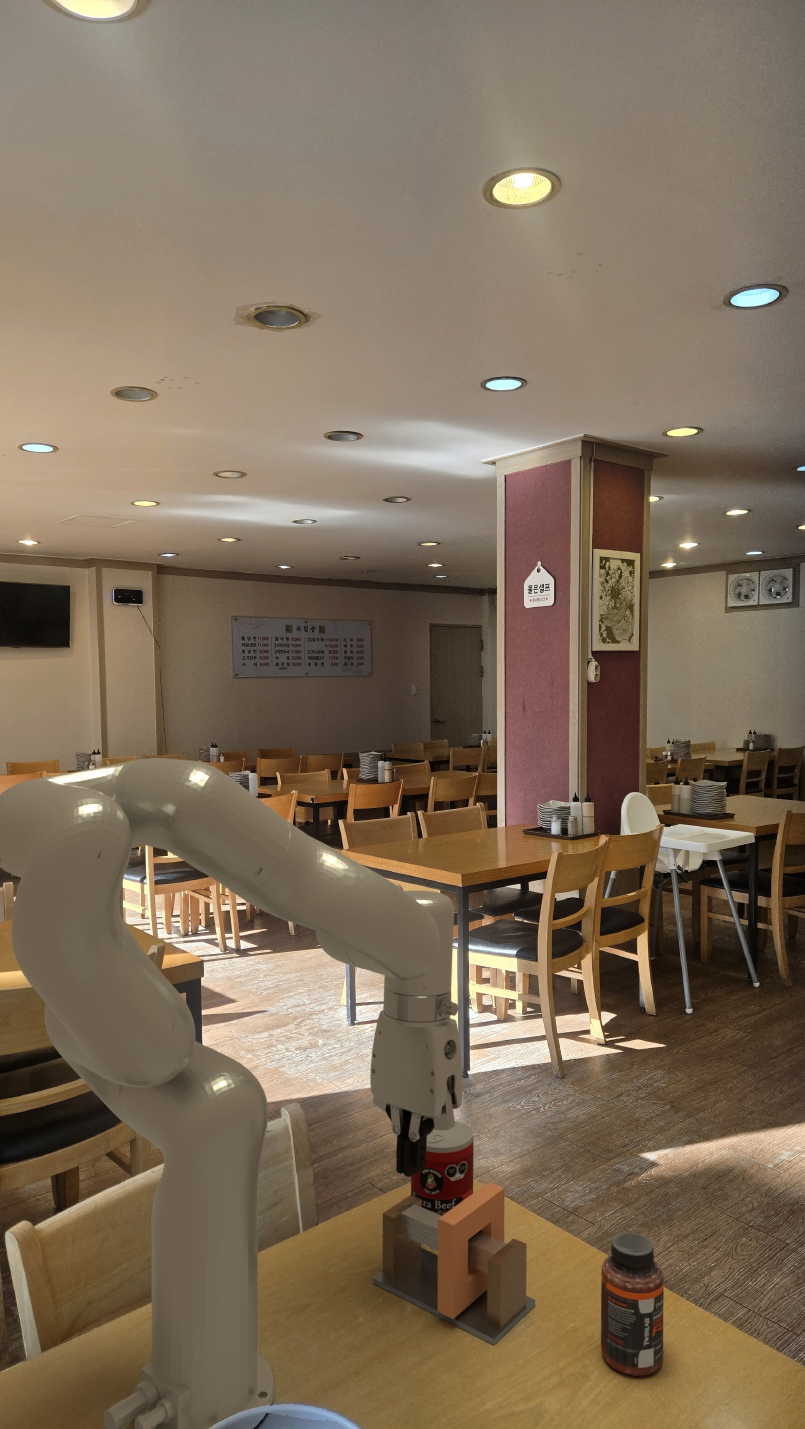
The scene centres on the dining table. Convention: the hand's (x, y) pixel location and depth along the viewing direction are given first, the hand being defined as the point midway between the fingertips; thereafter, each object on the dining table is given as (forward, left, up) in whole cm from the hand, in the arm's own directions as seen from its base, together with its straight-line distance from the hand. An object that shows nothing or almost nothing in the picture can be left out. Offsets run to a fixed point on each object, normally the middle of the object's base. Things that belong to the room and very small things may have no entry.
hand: (410, 1170), depth 103 cm
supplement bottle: (+4, -24, -13) cm, 28 cm away
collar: (+1, -8, -11) cm, 14 cm away
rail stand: (+1, -5, -12) cm, 13 cm away
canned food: (+12, +5, -13) cm, 18 cm away
